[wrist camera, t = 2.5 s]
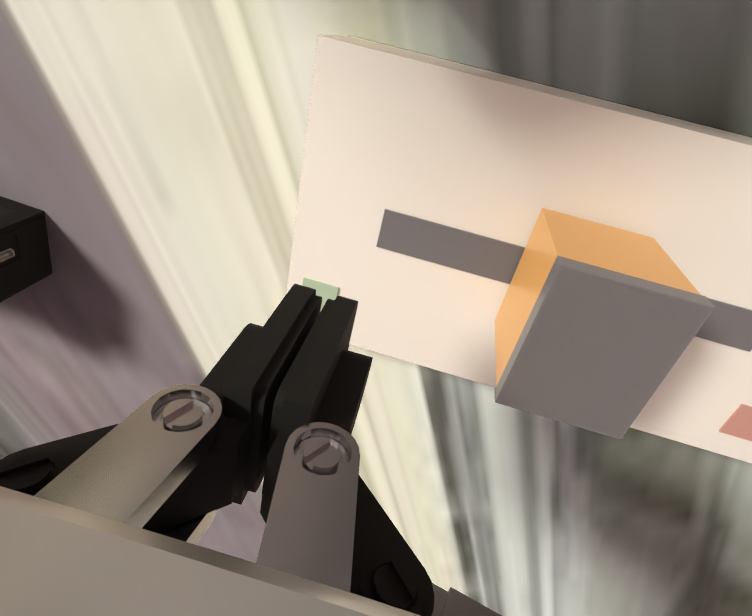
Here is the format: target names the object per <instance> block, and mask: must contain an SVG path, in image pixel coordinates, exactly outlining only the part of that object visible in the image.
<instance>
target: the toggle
mask: <svg viewBox="0 0 752 616" xmlns="http://www.w3.org/2000/svg"><path fill="white" fill-rule="evenodd" d="M714 308H715V307H714V305H713V304H712V303H711V302H710V301H709V299H708V298H707V297H706V296H702V295H701V294H700V293H699V292H698V291H697V290H696V288H695V287H694V286H693V285H692V283H691V282H690V281H689V280H688V279H687V277H686V276H685V275H684V274H683V273H682V271H681V270H680V269H679V268H678V267H677V265H676V264H675V263H674V262H673V261H672V259H671V258H670V257H669V256H668V254H667V253H666V252H665V251H664V250H663V248H662V247H661V246H660V245H659V244H658V242H657V241H656V240H655V239H654V238H652V237H649V236H645V235H641V234H638V233H634V232H630V231H626V230H623V229H619V228H615V227H612V226H608V225H604V224H601V223H597V222H593V221H590V220H586V219H582V218H578V217H575V216H571V215H567V214H564V213H560V212H556V211H553V210H549V209H545V208H542V209H541V212H540V214H539V216H538V219H537V221H536V223H535V226H534V228H533V231H532V233H531V235H530V238H529V240H528V242H527V245H526V247H525V250H524V252H523V254H522V257H521V259H520V262H519V264H518V266H517V269H516V271H515V273H514V276H513V278H512V281H511V283H510V285H509V288H508V290H507V293H506V295H505V297H504V300H503V302H502V304H501V307H500V309H499V312H498V314H497V316H496V319H495V352H496V383H497V386H496V389H495V402H496V403H500V404H503V405H506V406H510V407H513V408H516V409H520V410H523V411H526V412H530V413H533V414H536V415H540V416H543V417H547V418H550V419H553V420H557V421H560V422H563V423H567V424H570V425H573V426H577V427H580V428H583V429H587V430H590V431H594V432H597V433H600V434H604V435H607V436H610V437H614V438H617V439H620V440H621V439H622V437H623V436H624V434H625V433H626V432H627V430H628V429H629V427H630V426H631V425H632V423H633V422H634V420H635V419H636V418H637V416H638V415H639V413H640V412H641V411H642V409H643V408H644V406H645V405H646V404H647V402H648V401H649V399H650V398H651V397H652V395H653V394H654V392H655V391H656V390H657V388H658V387H659V385H660V384H661V383H662V381H663V380H664V378H665V377H666V376H667V374H668V373H669V371H670V370H671V369H672V367H673V366H674V364H675V363H676V362H677V360H678V359H679V357H680V356H681V355H682V353H683V352H684V350H685V349H686V348H687V346H688V345H689V343H690V342H691V341H692V339H693V338H694V336H695V335H696V334H697V332H698V331H699V329H700V328H701V327H702V325H703V324H704V322H705V321H706V320H707V318H708V317H709V315H710V314H711V313H712V311H713V310H714Z"/></svg>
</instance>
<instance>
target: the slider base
mask: <svg viewBox="0 0 752 616" xmlns="http://www.w3.org/2000/svg"><path fill="white" fill-rule="evenodd" d="M542 208H545V209H549V210H553V211H556V212H560V213H564V214H567V215H571V216H575V217H578V218H582V219H586V220H590V221H593V222H597V223H601V224H604V225H608V226H612V227H615V228H619V229H623V230H626V231H630V232H634V233H638V234H641V235H645V236H649V237H652V238H654V239H655V240H656V241H657V242H658V244H659V245H660V246H661V247H662V248H663V250H664V251H665V252H666V253H667V254H668V256H669V257H670V258H671V259H672V261H673V262H674V263H675V264H676V265H677V267H678V268H679V269H680V270H681V271H682V273H683V274H684V275H685V276H686V277H687V279H688V280H689V281H690V282H691V283H692V285H693V286H694V287H695V288H696V290H697V291H698V292H699V293H700V294H701V295H702V296H706V297H707V298H708V299H709V301H710V302H711V303H712V304H713V305H714V307H715V308H714V310H713V311H712V313H711V314H710V315H709V317H708V318H707V320H706V321H705V322H704V324H703V325H702V327H701V328H700V329H699V331H698V332H697V334H696V335H695V336H694V338H693V339H692V341H691V342H690V343H689V345H688V346H687V348H686V349H685V350H684V352H683V353H682V355H681V356H680V357H679V359H678V360H677V362H676V363H675V364H674V366H673V367H672V369H671V370H670V371H669V373H668V374H667V376H666V377H665V378H664V380H663V381H662V383H661V384H660V385H659V387H658V388H657V390H656V391H655V392H654V394H653V395H652V397H651V398H650V399H649V401H648V402H647V404H646V405H645V406H644V408H643V409H642V411H641V412H640V413H639V415H638V416H637V418H636V419H635V420H634V422H633V423H632V425H631V426H630V427H631V428H634V429H637V430H641V431H644V432H648V433H651V434H654V435H658V436H661V437H664V438H668V439H671V440H675V441H678V442H681V443H685V444H688V445H691V446H695V447H698V448H702V449H705V450H708V451H712V452H715V453H718V454H722V455H725V456H729V457H732V458H735V459H739V460H742V461H745V462H749V463H752V138H751V137H747V136H743V135H739V134H736V133H732V132H728V131H724V130H720V129H716V128H712V127H708V126H704V125H700V124H696V123H692V122H688V121H684V120H680V119H676V118H672V117H669V116H665V115H661V114H657V113H653V112H649V111H645V110H641V109H637V108H633V107H629V106H625V105H621V104H617V103H613V102H609V101H606V100H602V99H598V98H594V97H590V96H586V95H582V94H578V93H574V92H570V91H566V90H562V89H558V88H554V87H550V86H546V85H542V84H539V83H535V82H531V81H527V80H523V79H519V78H515V77H511V76H507V75H503V74H499V73H495V72H491V71H487V70H483V69H479V68H476V67H472V66H468V65H464V64H460V63H456V62H452V61H448V60H444V59H440V58H436V57H432V56H428V55H424V54H420V53H416V52H412V51H409V50H405V49H401V48H397V47H393V46H389V45H385V44H381V43H377V42H373V41H369V40H365V39H361V38H357V37H353V36H349V35H318V41H317V49H316V57H315V65H314V74H313V82H312V90H311V98H310V106H309V114H308V122H307V130H306V138H305V147H304V155H303V163H302V171H301V179H300V187H299V195H298V203H297V211H296V219H295V228H294V236H293V244H292V252H291V260H290V268H289V276H288V284H287V292H286V294H287V293H288V291H289V290H290V289H291V287H292V286H293V285H294V284H299V285H302V286H306V287H309V288H313V289H316V295H317V296H321V297H322V305H321V310H322V308H323V306H324V305H325V303H326V301H327V299H332V300H335V299H336V297H337V296H342V297H345V298H349V299H353V300H356V301H358V307H357V311H356V316H355V320H354V325H353V329H352V334H351V338H350V343H349V344H350V345H354V346H357V347H361V348H364V349H367V350H371V351H374V352H378V353H381V354H384V355H388V356H391V357H394V358H398V359H401V360H405V361H408V362H411V363H415V364H418V365H421V366H425V367H428V368H432V369H435V370H438V371H442V372H445V373H448V374H452V375H455V376H459V377H462V378H465V379H469V380H472V381H475V382H479V383H482V384H486V385H489V386H492V387H496V386H497V383H496V352H495V319H496V316H497V314H498V312H499V309H500V307H501V304H502V302H503V300H504V297H505V295H506V293H507V290H508V288H509V285H510V283H511V281H512V278H513V276H514V273H515V271H516V269H517V266H518V264H519V262H520V259H521V257H522V254H523V252H524V250H525V247H526V245H527V242H528V240H529V238H530V235H531V233H532V231H533V228H534V226H535V223H536V221H537V219H538V216H539V214H540V212H541V209H542ZM321 310H320V312H321Z"/></svg>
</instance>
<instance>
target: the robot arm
mask: <svg viewBox="0 0 752 616" xmlns="http://www.w3.org/2000/svg"><path fill="white" fill-rule="evenodd" d="M321 305H322V297H321V296H317V295H316V289H313V288H309V287H306V286H302V285H299V284H294V285H293V286H292V287H291V289H290V290H289V291H288V293H287V294H286V296H285V297H284V298H283V300H282V301H281V303H280V304H279V305H278V307H277V308H276V310H275V311H274V312H273V314H272V315H271V316H270V318H269V319H268V321H267V322H266V323H265V325H264V326H263V327H262V326H259V325H255V324H251V323H250V324H248V325H247V326H246V327H245V328H244V329H243V330H242V332H241V333H240V334H239V336H238V337H237V338H236V339H235V341H234V342H233V343H232V345H231V346H230V347H229V348H228V350H227V351H226V352H225V354H224V355H223V356H222V357H221V359H220V360H219V361H218V363H217V364H216V365H215V366H214V368H213V369H212V370H211V372H210V373H209V374H208V375H207V377H206V378H205V379H204V381H203V382H202V383H201V384H200V386H198V385H191V384H181V385H175V386H170V387H168V388H165V389H162V390H160V391H159V392H157V393H155V394H154V395H152V396H151V397H150V398H149V399H148V400H146V401H145V402H144V403H143V404H142V405H140V406H139V407H138V408H137V409H136V410H135V411H133V412H132V413H131V414H130V415H129V416H127V417H126V418H125V419H124V420H123V421H122V422H120V423H119V424H116V425H112V426H108V427H104V428H101V429H97V430H93V431H90V432H86V433H82V434H79V435H75V436H71V437H67V438H64V439H60V440H56V441H53V442H49V443H45V444H42V445H38V446H34V447H30V448H27V449H23V450H21V451H18V452H15V453H13V454H10V455H8V456H6V457H5V458H3V457H0V616H501V615H499V614H498V613H496V612H494V611H492V610H491V609H489V608H487V607H485V606H483V605H482V604H480V603H478V602H476V601H475V600H473V599H471V598H469V597H467V596H466V595H464V594H462V593H460V592H459V591H457V590H455V589H453V588H451V587H450V589H449V591H448V592H447V591H445V590H444V589H442V588H440V587H438V586H437V585H435V584H433V583H432V582H431V580H430V578H429V576H428V574H427V572H426V570H425V568H424V567H423V566H422V564H421V563H420V561H419V560H418V558H417V557H416V556H415V554H414V553H413V551H412V550H411V548H410V547H409V546H408V544H407V543H406V541H405V540H404V538H403V537H402V536H401V534H400V533H399V531H398V530H397V528H396V527H395V526H394V524H393V523H392V521H391V520H390V519H389V517H388V516H387V514H386V513H385V511H384V510H383V509H382V507H381V506H380V504H379V503H378V501H377V500H376V499H375V497H374V496H373V494H372V493H371V491H370V490H369V489H368V487H367V486H366V484H365V483H364V481H363V480H362V479H361V477H360V476H359V462H360V453H359V447H358V445H357V443H356V441H355V439H354V438H353V437H352V436H351V434H352V430H353V427H354V424H355V420H356V417H357V414H358V410H359V407H360V403H361V400H362V396H363V393H364V389H365V386H366V382H367V378H368V374H369V370H370V367H371V363H372V359H373V358H372V357H369V356H365V355H362V354H358V353H354V352H351V351H348V347H349V343H350V338H351V334H352V329H353V325H354V320H355V316H356V311H357V307H358V301H356V300H353V299H349V298H345V297H342V296H337V297H336V299H335V300H332V299H327V301H326V303H325V305H324V306H323V308H322V310H321ZM320 310H321V312H320ZM263 477H264V481H263V489H262V502H261V510H260V513H261V515H262V517H263V519H264V521H265V523H266V526H265V530H264V534H263V538H262V542H261V546H260V550H259V554H258V558H257V562H256V563H253V562H250V561H246V560H243V559H240V558H237V557H234V556H230V555H227V554H224V553H220V552H217V551H214V550H211V549H207V548H204V547H201V546H197V545H196V543H197V542H198V541H199V539H200V538H201V537H202V535H203V534H204V532H205V531H206V530H207V528H208V527H209V526H210V524H211V523H212V521H213V519H214V517H215V515H216V511H217V509H219V508H222V507H224V506H227V505H229V504H231V503H232V502H234V503H238V504H242V502H243V500H244V498H245V496H246V494H247V492H248V491H252V492H256V491H257V489H258V488H259V486H260V483H261V481H262V479H263Z"/></svg>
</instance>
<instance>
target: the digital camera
mask: <svg viewBox="0 0 752 616" xmlns="http://www.w3.org/2000/svg"><path fill="white" fill-rule="evenodd" d="M41 217H42V218H41ZM38 218H39V219H38ZM36 219H37V220H36ZM34 220H35V221H34ZM31 221H32V222H31ZM29 222H30V223H29ZM24 224H25V225H24ZM22 225H23V226H22ZM17 227H18V228H17ZM51 273H52V267H51V260H50V252H49V245H48V237H47V230H46V223H45V214H44V211H42V210H39V209H36V208H33V207H30V206H27V205H24V204H21V203H18V202H15V201H13V200H10V199H7V198H4V197H1V196H0V302H2V301H3V300H5V299H7V298H9V297H11V296H12V295H14V294H16V293H18V292H20V291H21V290H23V289H25V288H27V287H29V286H30V285H32V284H34V283H36V282H38V281H39V280H41V279H43V278H45V277H47V276H48V275H50V274H51Z"/></svg>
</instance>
